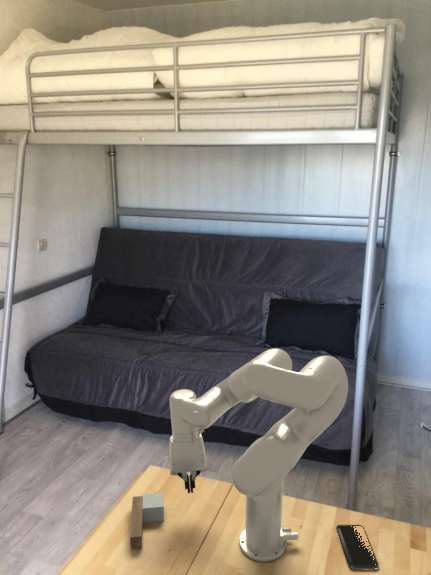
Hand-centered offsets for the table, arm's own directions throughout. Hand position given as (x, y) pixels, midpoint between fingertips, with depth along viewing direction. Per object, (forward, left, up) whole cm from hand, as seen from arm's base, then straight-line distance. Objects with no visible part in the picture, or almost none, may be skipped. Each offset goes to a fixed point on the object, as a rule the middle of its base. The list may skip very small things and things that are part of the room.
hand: (190, 490), depth 144 cm
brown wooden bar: (+15, +4, -8) cm, 18 cm away
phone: (-44, +18, -9) cm, 48 cm away
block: (+11, -1, -8) cm, 14 cm away
